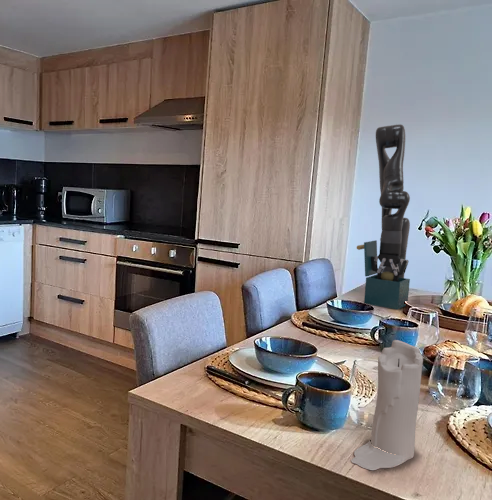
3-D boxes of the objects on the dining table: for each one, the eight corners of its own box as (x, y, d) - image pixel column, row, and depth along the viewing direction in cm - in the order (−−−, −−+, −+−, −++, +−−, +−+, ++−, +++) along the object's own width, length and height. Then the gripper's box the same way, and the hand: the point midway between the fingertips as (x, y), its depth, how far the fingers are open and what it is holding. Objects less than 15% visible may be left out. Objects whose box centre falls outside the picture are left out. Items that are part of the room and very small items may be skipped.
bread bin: (407, 305, 202) (409, 278, 201) (397, 309, 195) (400, 282, 193) (374, 299, 211) (376, 274, 210) (363, 303, 204) (365, 277, 202)
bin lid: (376, 240, 209) (364, 240, 212) (365, 242, 201) (353, 242, 205) (377, 273, 210) (365, 272, 213) (367, 276, 202) (354, 275, 206)
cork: (390, 297, 206) (393, 271, 204) (396, 301, 200) (399, 273, 198) (375, 296, 206) (377, 270, 205) (380, 300, 200) (383, 273, 199)
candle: (341, 457, 90) (349, 349, 87) (383, 435, 98) (392, 336, 95) (379, 477, 84) (389, 362, 81) (421, 452, 92) (432, 346, 89)
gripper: (413, 242, 197) (409, 285, 199) (376, 239, 207) (372, 279, 210) (406, 244, 192) (402, 287, 194) (368, 240, 202) (365, 281, 204)
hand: (387, 283), depth 202 cm, fingers closed on cork, 5 cm apart
